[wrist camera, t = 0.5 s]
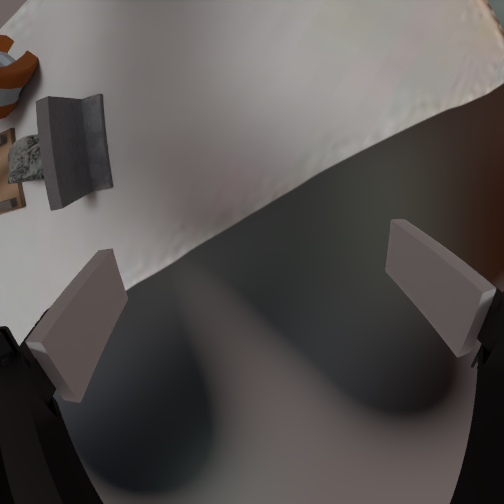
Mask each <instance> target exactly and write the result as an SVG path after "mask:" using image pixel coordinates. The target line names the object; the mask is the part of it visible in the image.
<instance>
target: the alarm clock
mask: <svg viewBox="0 0 504 504" xmlns="http://www.w3.org/2000/svg"><path fill="white" fill-rule="evenodd" d="M13 43H14V41H13V40H12V39H10V38H9V37H8V36H6V35H0V119H2V118H5V117H7V116H8V115H9V114H10V113H11V112H12V111H13V109H14V107H15V105H16V103H17V101H18V99H19V93H20V91H21V89H22V88H23V86H25V85H26V84H27V83H28V81H29V79H30V77H31V76H32V74H33V72H34V71H35V69H36V66H37V64H38V58H37V57H36V56H35V55H33V54H32V53H30V52H29V51H26V52H25V54H24V55H23V56H22V57H20V58H19V59H18V60H17V61H16V60H15V59H14V58H12V57H11V56H10V55H8V54H7V53H8V51H9V49H10V48H11V46H12V45H13Z"/></svg>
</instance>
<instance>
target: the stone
mask: <svg viewBox="0 0 504 504" xmlns="http://www.w3.org/2000/svg"><path fill="white" fill-rule="evenodd" d="M7 177H8V184H11V183H21V182H25V181H31V180H40V179H42V180H44V173H43V167H42V161H41V154H40V146H39V137H38V135H30V136H26V137H23V138H21V139H19V140H17V141H16V142H14V144H13V145H12V146H11V147H10V150H9V153H8V176H7Z"/></svg>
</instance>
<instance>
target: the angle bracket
mask: <svg viewBox="0 0 504 504" xmlns="http://www.w3.org/2000/svg"><path fill="white" fill-rule="evenodd" d="M36 112H37V126H38V137H39V146H40V154H41V161H42V167H43V173H44V179H45V185H46V190H47V195H48V200H49V204H50V209H51V211H52V210H57V209H62V208H64V207H66V206H67V205H69V204H71V203H73V202H74V201H76V200H78V199H80V198H81V197H83V196H85V195H87V194H89V193H91V192H92V191H96V190H101V189H106V188H111V187H113V183H112V176H111V170H110V163H109V156H108V148H107V140H106V131H105V121H104V109H103V95H102V94H98V95H94V96H91V97H88V98H85V99H74V98H64V97H51V96H47V97H45V98H43V99H40V100H38V101H36Z"/></svg>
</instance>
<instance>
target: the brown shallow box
mask: <svg viewBox="0 0 504 504" xmlns="http://www.w3.org/2000/svg"><path fill="white" fill-rule="evenodd" d="M14 142H16V141H15V130H14V128H10V129H8V130H6V131H4V132H2V133H0V214H1V213H4V212H8V211H12V210H15V209H19V208H22V207H24V206H26V203H25V198H24V193H23V188H22V183H11V184H8V177H7V176H8V153H9V150H10V147H11V146H12V145H13V144H14Z"/></svg>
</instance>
